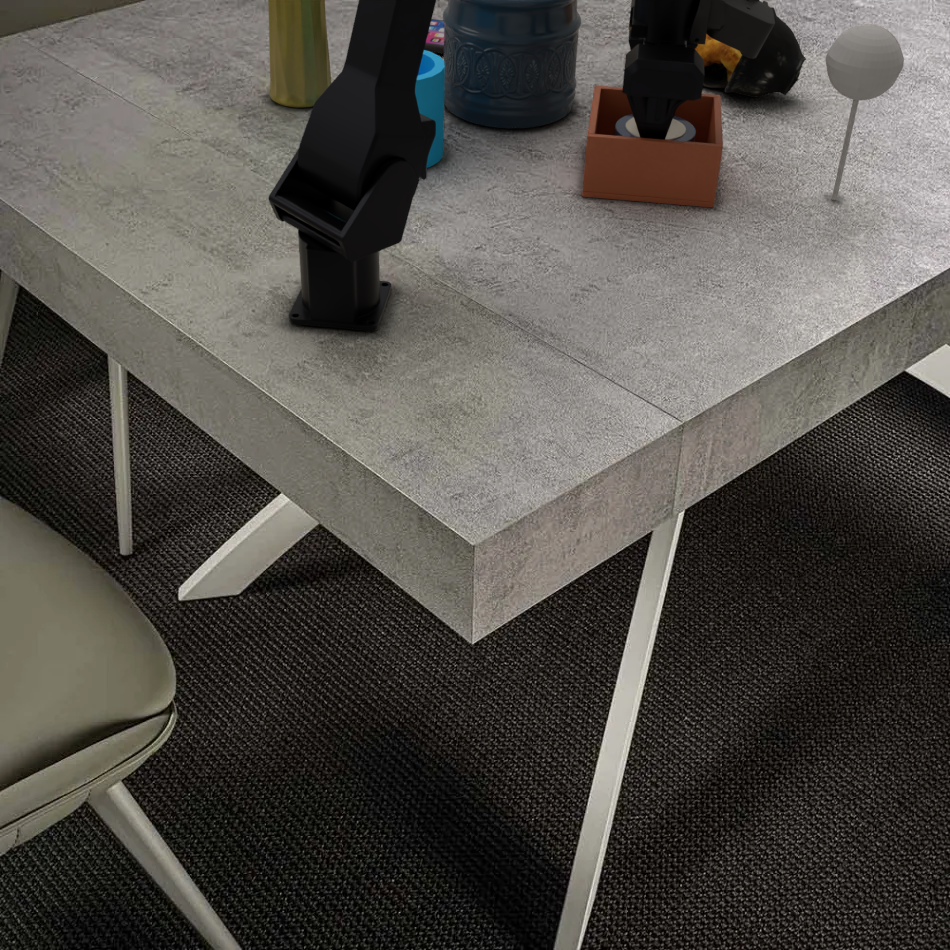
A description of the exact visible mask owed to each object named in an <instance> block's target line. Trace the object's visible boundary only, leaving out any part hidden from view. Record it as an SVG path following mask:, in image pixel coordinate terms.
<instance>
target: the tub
mask: <svg viewBox="0 0 950 950" xmlns="http://www.w3.org/2000/svg"><path fill="white" fill-rule="evenodd" d="M622 89H623V86H621V87H619V86H608V85H596V84H595V85H594V87H593V95H592V102H591V107H590V115H589V121H588V126H587V127H588V128H587V133H586V134H587V135H586V144H585V145H586V146H585V157H584V166H583V167H584V169H583V178H582V179H583V181H582V192H581V197H583V198H593V199H594V198H595V199H608V200H620V201H631V202H643V203H652V204H654V203H655V204H667V205H676V206H689V207H690V206H691V207H701V208H711V209H712V208H715V202H716V194H717V188H718V181H719V175H720V168H721V162H722V157H723V150H724V140H723V139H724V138H723V137H724V136H723V120H722V119H723V117H722V98H721V95H720V94H713V93H712V94H711V93H702V96H701V99H698V100H694V101H692V100H687V101H685V102H684V103H682V104H681V105H679V106H678V108H677V110H676V112H675V115H674V116H677V117H680V118H682V119H684V120H686V121H688V122H689V123H691V124H692V125H693V126H694V127H695V129H696V137H695V142H688V141H676V140H663V139H651V138H638V137H626V136H614V131H615V124H616V122H617V121H618V120H619V119H620V118H622V117H624V116H626V115H630V114H633V113H632V110H631V107H630V104H629V101H628V98H627V95H626V94H625V93H623V92H622Z"/></svg>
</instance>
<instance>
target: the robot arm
mask: <svg viewBox="0 0 950 950" xmlns="http://www.w3.org/2000/svg"><path fill="white" fill-rule="evenodd" d="M436 2H437V0H358V2H357V8H356V12H355V17H354V21H353V24H352V29H351V33H350V39H349V42H348V48H347V53H346V57H345V61H344V65H343V68H342V70H341V71H340V72H339V74H338V75H337V76H336V77H335V78H334V79H333V81H331V84H330V85H329V86H328V88H327V89H326V90H325V91H324V92H323V93H322V94H321V96H320V97H319V98H318V99H317V100H316V102H315V104H314V106H313V107H312V109H311V112H310V114H309V118H308V121H307V123H306V126H305V129H304V132H303V133H302V136H301V139H300V143H299V146H298V148H297V151H296V152H295V153H294V155H293V157H292V158H291V160H290V162H289V163H288V165H287V166H286V168H285V170H284V171H283V173H282V174H281V176H280V177H279V179H278V181H277V182H276V184H275V186H274V187H273V189H272V190H271V192H270V193H269V195H268V202H269V205H270V206H271V209H272V212H273V214H274V215H275V218H276V219H277V220H278V221H281V222H284V223H286V224H287V225H290V226H291V227H293V228H295V229H296V230H297V235H298V239H297V240H298V252H299V270H300V285H301V287H300V290H299V292H298V295H297V297H296V298H295V301H294V303H293V305H292V308H291V310H290V312H289V314H288V322H289V323H290V324H292V325H299V326H300V325H302V326H312V327H321V328H333V329H341V330H342V329H343V330H354V331H365V332H374V331H376V330H378V329H379V326H380V323H381V321H382V318H383V315H384V312H385V310H386V307H387V305H388V302H389V298H390V295H391V292H392V283H391V282H390V281H386V280H381V279H380V278H381V276H380V271H381V269H380V252H382V251H384V250H386V249H387V248H390V247H394V246H395V245H398V244H400V243H401V242H402V240H403V237H404V232H405V229H406V225H407V222H408V218H409V214H410V210H411V207H412V202H413V199H414V197H415V194H416V191H417V190H418V186H419V184H420V183H419V182H420V179H421V180H423V181H425V180H426V179H427V178H428V174H427V173H428V172H427V171H428V170H427V169H428V168H426V166H427V160H428V155H429V152H430V149H431V146H432V144H433V141H434V138H435V136H436V122H435V121H434V120H432V119H430V118H428V117H426V116H424V115H422V114H420V113H419V108H418V104H417V99H416V95H415V86H416V80H417V76H418V72H419V68H420V64H421V60H422V56H423V52H424V48H425V44H426V40H427V36H428V32H429V28H430V23H431V19H433V15H434V11H435V7H436ZM628 21H629V22H628V27H632V29H630V30H629V29H628V40H627V41H628V45H629V49H630V50H629V51H628V52H626V54H625V60H624V70H623V79H622V88H623V89H622V92H623V93H625V94H626V95H627V98H628V101H629V104H630V107H631V110H632V113H633V116H634V120H635V123H636V126H637V129H638V132H639V135H640V138H651V139H663V140H665V138H666V136H667V133H668V130H669V128H670V125H671V122H672V120H673V117H674V115H675V112H676V110H677V108H678V106H679V105H681V104H682V103H684V102H685V101H687V100H692V101H694V100H698V99H701V96H702V94H703V87H704V86H703V82H704V60H703V58H702V57H701V56H700V55H699V53H698V52H697V51H696V50H695V48H696V47H697V46H698V44H705V41H706V34H707V35H708V36H710V37H711V38H713V39H715V40H717V41H719V42H721V43H723V44H726V45H728V46H730V47H732V48H734V49H736V50H739V51H740V53H741V54H742V55H744V56H746V57H748V58H756V57H757V55H758V53H759V51H760V49H761V48H762V46H763V44H764V42H765V40H766V39H767V37H768V35H769V33H770V31H771V30H772V28H773V26H774V24H775V20H774V13H773V10H772V8H771V6H770V5H769V2H768V1H766V0H763V1H760V0H631V4H630V13H629V20H628Z"/></svg>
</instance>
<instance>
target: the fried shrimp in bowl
mask: <svg viewBox="0 0 950 950" xmlns="http://www.w3.org/2000/svg"><path fill="white" fill-rule="evenodd" d="M770 7H771V6H770ZM771 8H772V10H773V13H774V20H775V24H774V26H773V28H772V30H771V31H770V33H769V35H768V37H767V39H766V40H765V42H764V44H763V46H762V48H761V49H760V51H759V53H758V55H757V57H756V58H748V57H746V56H744V55H742V54H741V53H740V51H739V50H736V49H734V48H732V47H730V46H728V45H726V44H723V43H721V42H719V41H717V40H715V39H713V38H711V37H710V36H708V35H707V34H706V41H705V44H698V46H697V47H696V48H695V50H696V51H697V52H698V53H699V55H700V56H701V57H702V58H703V60H704V82H703V87H705V88H710V89H711V88H712V89H724V93H725V94H730V93H731V94H732V93H735V94H739V95H743V96H747V97H751V98H762V97H766V96H769V95H773V94H781V95H783V96H784V97H785V96H787V94H788V93H789V92H790V91H791V90H792V89H793V87H794V86H795V84H797V82H798V81H799V77H800V74H801V70H802V68H803V65H804V62H805V61H806V60H807V57H806V56H805V55H804V54H803V52H802V49H801V46H800V43H799V41H798V40H797V37H796V35H795V33H794V32H793V30H792V28H791V27H790V26H789V25H788V24H787V23H786V22H785V21H784V20H782V19H781V18H780V17H779V16H778V15H777V12H776V9H775V7H773V6H772V7H771ZM627 28H628V31H629V30H630V29H632V27H629V26H628V27H627Z"/></svg>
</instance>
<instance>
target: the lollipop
mask: <svg viewBox="0 0 950 950" xmlns="http://www.w3.org/2000/svg"><path fill="white" fill-rule="evenodd" d="M904 62H905V57H904V54H903V50H902V47H901V44H900V42H899V41H898V39H897V37H896V36H895V35H894V34H893V33H892V32H891V31H890V30H889V29H887V28H885V27H883V26H882V25H879V24H878V25H877V24H873V23H862V24H857V25H853V26H851V27H850V28H848V29H846V30H845V31H843V32H842V33H841V34H840V35H838V36H837V38H836V39H835V40H834V41H833V43H832V44H831V46H830V47H829V48H828V50H827V53H826V55H825V66H826V73H827V77H828V80H829V82H830V83H831V85H832V87H833V88H834V89H835V91H836V92H838V93H839V94H840V95H841V96H844V97H845V98H848V99H850V100H852V103H851V108H850V111H849V112H850V113H849V117H848V122H847V126H846V131H845V136H844V140H843V145H842V149H841V154H840V157H839V163H838V168H837V172H836V176H835V182H834V186H833V189H832V190H833V191H832V194H831V200H832V201H834V202H835V201H837V200H838V198H839V197H838V196H839V193H840V187H841V184H842V178H843V174H844V170H845V166H846V160H847V156H848V151H849V147H850V144H851V138H852V135H853V134H852V133H853V129H854V125H855V121H856V115H857V112H858V105H859V102H860V101H868V100H872V99H875V98H877V97H880V96H882V95H884V94H885V93H886V92H887V91H889V90H890V89H891V88H892V87H893V86H894V85H895V83H896V82H897V79H898V78H899V76H900V74H901V72H902V70H903V69H904V64H905V63H904Z"/></svg>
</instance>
